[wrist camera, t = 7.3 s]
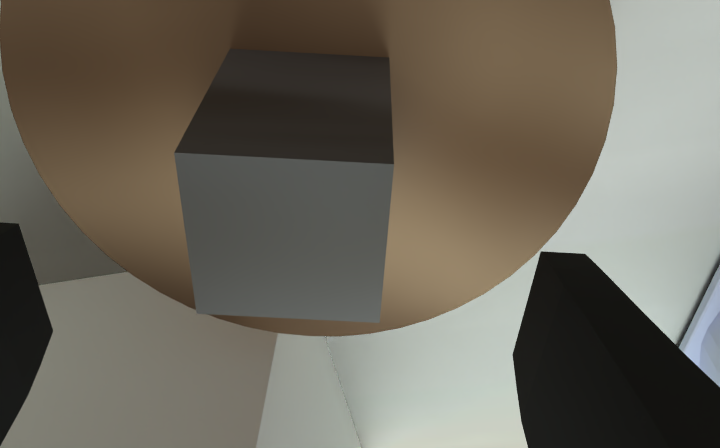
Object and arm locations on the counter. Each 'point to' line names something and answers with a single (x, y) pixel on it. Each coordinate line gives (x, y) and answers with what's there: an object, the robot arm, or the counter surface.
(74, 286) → the milk
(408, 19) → the lid
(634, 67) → the counter surface
